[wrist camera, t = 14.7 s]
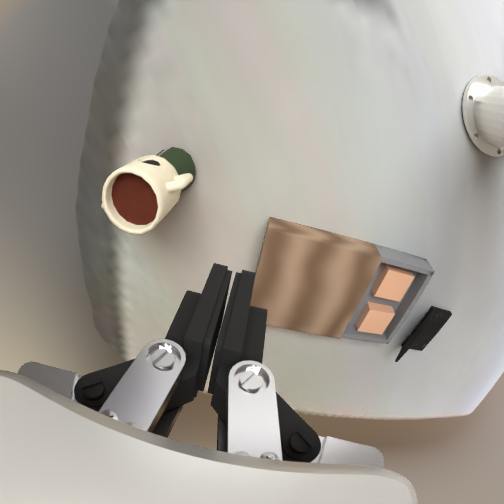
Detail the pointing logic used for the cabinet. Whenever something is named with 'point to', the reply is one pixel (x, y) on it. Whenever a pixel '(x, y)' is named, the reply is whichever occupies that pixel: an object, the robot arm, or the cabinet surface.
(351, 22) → the cabinet surface
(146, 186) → the character mug
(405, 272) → the tile
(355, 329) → the box
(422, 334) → the black sloped piece
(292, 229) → the board
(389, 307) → the tile
